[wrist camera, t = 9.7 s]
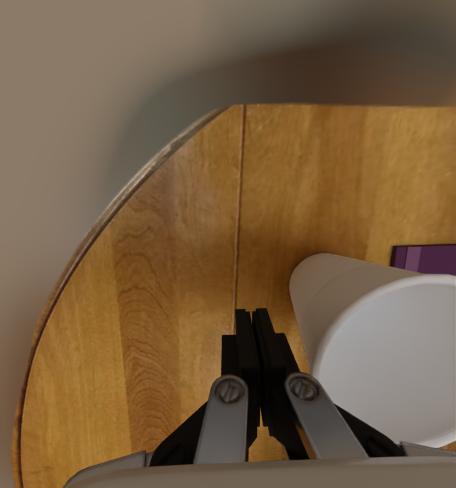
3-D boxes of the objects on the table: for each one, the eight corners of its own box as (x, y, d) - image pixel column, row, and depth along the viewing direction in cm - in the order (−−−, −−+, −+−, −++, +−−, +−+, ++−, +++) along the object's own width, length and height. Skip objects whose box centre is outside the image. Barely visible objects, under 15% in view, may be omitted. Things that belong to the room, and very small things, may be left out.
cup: (346, 340, 22) (455, 473, 12) (253, 313, 22) (280, 430, 11) (390, 250, 20) (572, 312, 10) (290, 217, 20) (366, 245, 9)
